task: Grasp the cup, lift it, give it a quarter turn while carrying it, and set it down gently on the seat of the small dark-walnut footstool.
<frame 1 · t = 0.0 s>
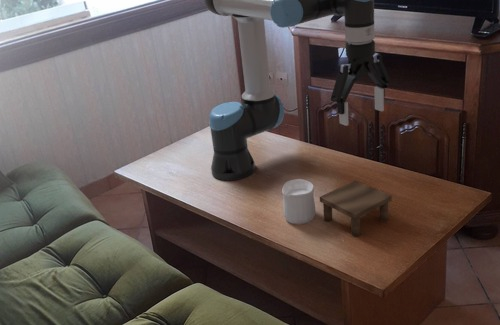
hand: (362, 117, 164), 28 cm above the table, fingers open, 13 cm apart
cup: (299, 217, 174), on the table
footstool: (355, 219, 169), on the table
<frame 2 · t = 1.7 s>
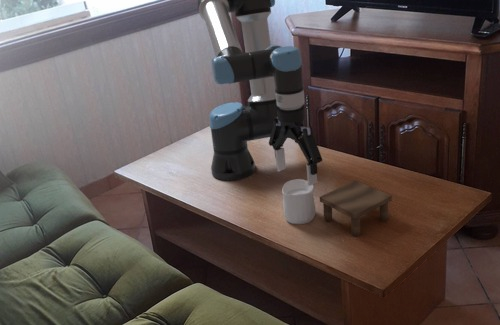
hand: (296, 176, 168), 13 cm above the table, fingers open, 13 cm apart
nothing on the table moved.
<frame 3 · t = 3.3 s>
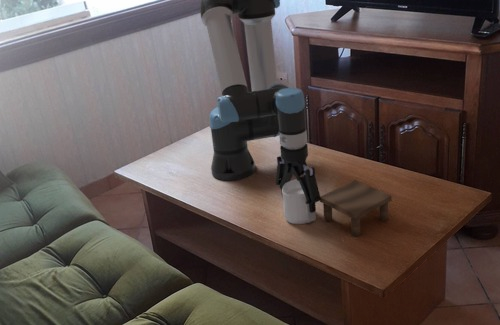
hand: (299, 214, 174), 1 cm above the table, fingers closed on cup, 10 cm apart
cup: (299, 216, 174), on the table, touching gripper
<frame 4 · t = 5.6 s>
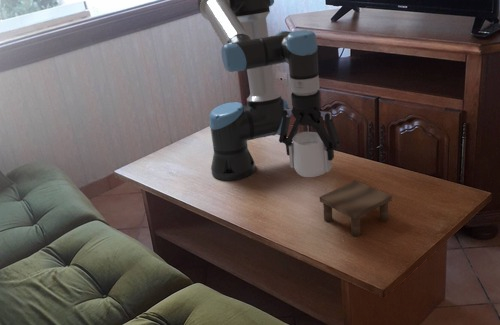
hand: (310, 167, 165), 16 cm above the table, fingers closed on cup, 10 cm apart
cup: (310, 170, 166), point 15 cm above the table, touching gripper
when the fingers open (10 cm above the table, at t = 7.9 s): cup drops 1 cm, resting on footstool.
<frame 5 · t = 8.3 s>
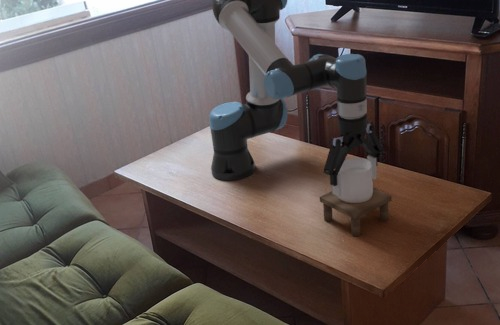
hand: (354, 186, 165), 11 cm above the table, fingers open, 13 cm apart
cup: (355, 196, 166), point 7 cm above the table, touching footstool
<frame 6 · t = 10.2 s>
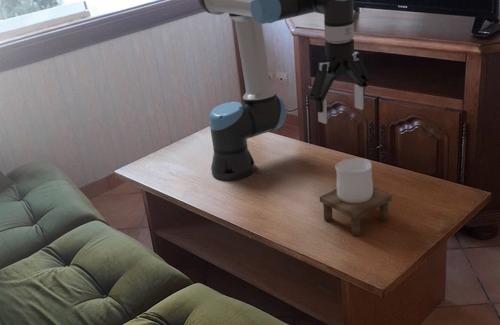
hand: (341, 115, 164), 29 cm above the table, fingers open, 13 cm apart
nothing on the table moved.
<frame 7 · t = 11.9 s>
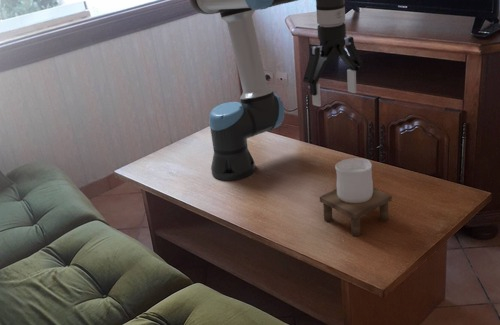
hand: (334, 98, 168), 32 cm above the table, fingers open, 13 cm apart
nothing on the table moved.
at the end: cup inside the target area on the footstool (0.1 cm from its centre), point 7.3 cm above the footstool's base; cup tilted 0°; the gripper is holding nothing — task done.
